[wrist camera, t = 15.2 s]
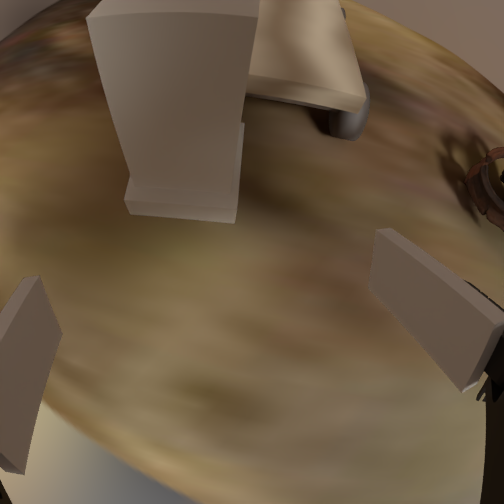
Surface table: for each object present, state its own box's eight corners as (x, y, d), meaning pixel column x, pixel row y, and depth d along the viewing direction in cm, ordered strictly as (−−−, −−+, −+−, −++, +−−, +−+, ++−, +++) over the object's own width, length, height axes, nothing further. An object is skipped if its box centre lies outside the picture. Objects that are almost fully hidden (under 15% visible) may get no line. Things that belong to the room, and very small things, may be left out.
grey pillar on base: (241, 140, 24) (273, -32, 11) (234, 223, 21) (273, 33, 8) (151, 133, 23) (128, -35, 10) (130, 214, 20) (62, 34, 7)
